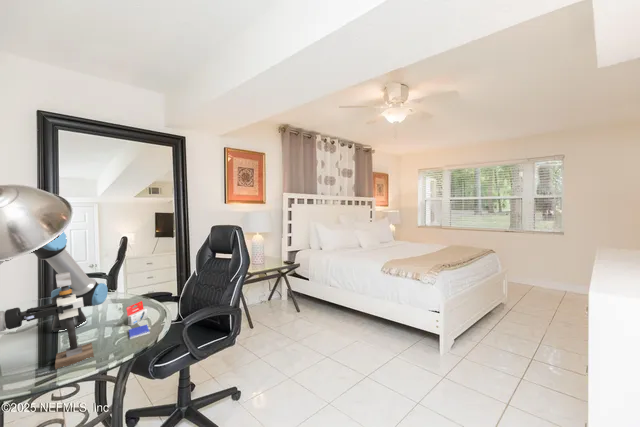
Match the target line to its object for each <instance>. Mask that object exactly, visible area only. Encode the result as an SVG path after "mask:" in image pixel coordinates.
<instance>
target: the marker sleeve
mask: <svg viewBox="0 0 640 427" xmlns="http://www.w3.org/2000/svg"><path fill="white" fill-rule="evenodd" d="M72 302H76V294H74V295H70V297H68V298H64V299H63V298H62V297H60V298H57V306H63V304H68V303H72ZM77 315H78V308H76V309H72V310H68V311H63V314H61V313H60V314H59V320H62V319H65V318H69V317H73V316H77Z"/></svg>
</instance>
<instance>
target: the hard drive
mask: <svg viewBox="0 0 640 427" xmlns="http://www.w3.org/2000/svg"><path fill="white" fill-rule="evenodd" d="M150 333H151V331H150V329H149V327H148V324H144V325H140V326H136V327H132V328H129V329H128V334H129V335H128V336H129V340H132V339H136V338H140V337H142V336H145V335H148V334H150Z"/></svg>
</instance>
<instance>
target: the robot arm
mask: <svg viewBox="0 0 640 427" xmlns="http://www.w3.org/2000/svg"><path fill="white" fill-rule="evenodd" d="M67 242H68V238H67V234H66V233H65V232H64V231H63V233H62V234H61V235H60V236H59V237H58V238H56V239H55V240H53V241H52V242H50V243H48V244H47V245H45V246H44V247H42V248H40V249H38V250H35V251H33V252H31V253H30V254H33V255H35V256H36V257H37V258H38V259H39V260H45V261H46V262H47V263H48V264H49V265H50V267H52V268H53V270H54V271H55V272H56V273H57V274H61V273H67V272H70V277H71V285H68V286H69V289H72V293H70V295H74V294H76V302H72V303H68V304H63V306H57V298H60V297H62V295H59V291H61V287H58V288H56V289H54V290H52V291H51V293H50V296H51V298H50V300H51V303H49V304H45V305H44V304H43V305H39V306H35V307H31V308H27V309H26V310H24V311H21V308H20V307H14V308H8V309H6V310H5V311H4V310H0V332H5V331H6V330H12V329H17V328H20V327H21V326H22V324H23V321H26V322H32V321H33V320H34V321H35V320H38V319H43V318H46V317H51V316H53V321H52V324H51V331H52V330H54V331H59V330H65V329H67V324H66V318H65V319H62V320H59V314H60V313H61V314H63V311H68V310H72V309H76V308H78V315H77V316H73V319H74V326H75V327H77V326H79V325H80V324H82V323H83V322H85V321H86V319H87V317H86V315H85V314H84V312H83V310H82V308H84V307H85V308H86V307H95V306H99V305H102V304H103V303H104V302H106V301H107V300H106V299H107V297H108V294H109V291H108V290H109V289H108V286H107V284H106V283H104V282H103V283H102V282H100V283H99V282H98V281H97V280H96V279H94V278H92V277H89V276H88V275H87V274H86V272H85V271H84V270H83V269H82V268H81V266H80V265H79V264H78V262H76V260H75V259H74V258H73V257H72V256H71V254H70V253H69V252H68V251H67V250H66V248H67ZM11 260H12V259H10V260H5V261H0V265H2V264H3V263H5V262H9V261H11Z"/></svg>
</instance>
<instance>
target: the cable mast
mask: <svg viewBox="0 0 640 427" xmlns="http://www.w3.org/2000/svg"><path fill="white" fill-rule="evenodd" d="M55 280H56V281H55V282H56V287H57V288H56V289H58V288H61V291H59V295H62V298H63V299H64V298H68V297H70V293H72V289H69V286H68V285H71V277H70V272H67V273H61V274H58V273H57V274H55ZM66 324H67V331H66V332H67V337H68V343H69V344H68V345H69V347H68V348H66V349H65V350H64V351H61V352H57V353H55V355H56V356H55V363H54V368H55V370H56V369H57V368H60V367H63V366H66V367H69V366H71V364H72V365H74V364H78V363H80V361H81V362H83V361H82V360H84V359H86V358H90V357H93V358H95V355H94V348H93V343H92V342H90V343H89V342H88V343H87V344H78V341H77V333H76V329H75V326H74V319H73V317H69V318H66ZM90 359H91V358H90ZM84 361H85V360H84ZM77 362H78V363H77ZM63 368H64V367H63ZM60 369H61V368H60ZM57 370H58V369H57Z"/></svg>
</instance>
